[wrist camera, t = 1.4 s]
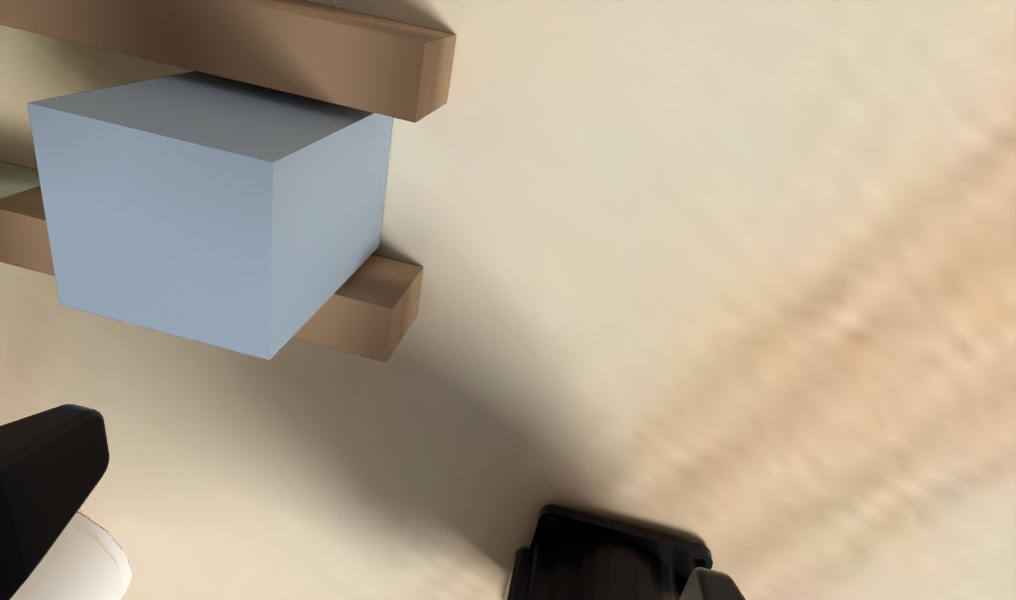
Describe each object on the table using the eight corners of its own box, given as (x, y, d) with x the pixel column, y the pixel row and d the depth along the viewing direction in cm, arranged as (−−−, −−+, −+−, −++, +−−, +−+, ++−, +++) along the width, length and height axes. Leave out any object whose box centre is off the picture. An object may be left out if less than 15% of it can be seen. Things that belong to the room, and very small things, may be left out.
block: (394, 103, 18) (273, 162, 12) (379, 246, 20) (269, 360, 14) (229, 64, 18) (27, 103, 12) (232, 209, 20) (59, 304, 14)
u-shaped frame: (456, 34, 17) (411, 46, 13) (416, 315, 21) (373, 381, 17) (-195, -113, 18) (-394, -138, 15) (-113, 180, 22) (-253, 216, 19)
